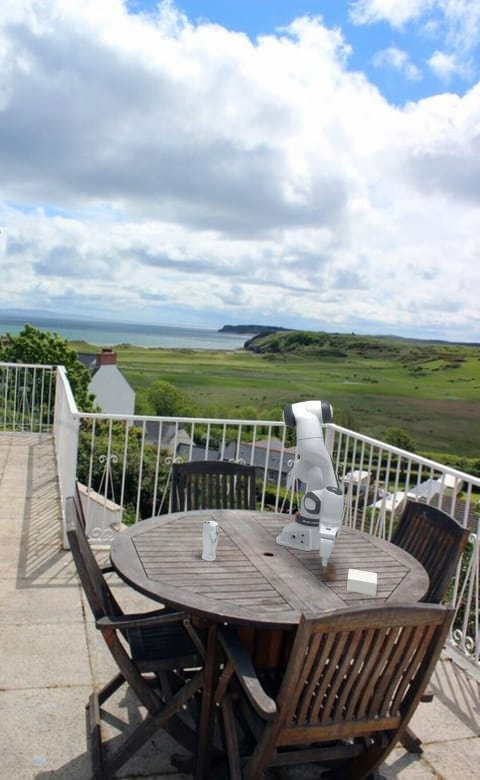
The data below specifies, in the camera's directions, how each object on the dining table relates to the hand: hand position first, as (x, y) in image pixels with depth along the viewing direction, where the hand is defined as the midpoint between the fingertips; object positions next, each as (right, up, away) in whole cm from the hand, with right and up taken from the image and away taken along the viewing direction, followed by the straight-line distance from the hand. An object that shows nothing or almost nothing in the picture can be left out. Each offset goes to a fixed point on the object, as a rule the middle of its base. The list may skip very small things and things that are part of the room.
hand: (325, 561), depth 227 cm
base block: (+13, -9, -6) cm, 17 cm away
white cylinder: (-48, -2, +10) cm, 49 cm away
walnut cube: (+1, -7, +1) cm, 7 cm away
